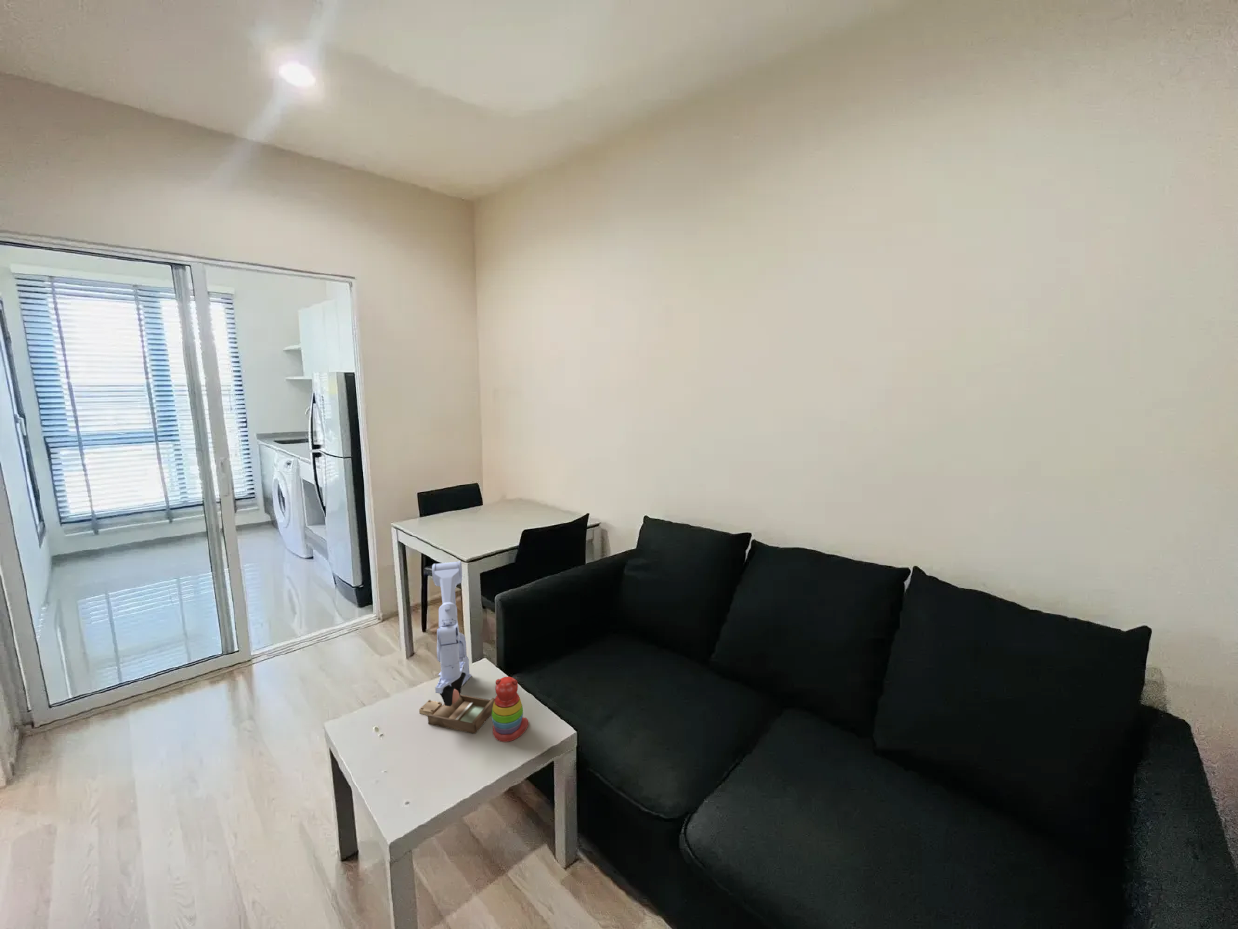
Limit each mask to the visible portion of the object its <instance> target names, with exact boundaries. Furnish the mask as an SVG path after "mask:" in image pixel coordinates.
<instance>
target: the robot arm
mask: <svg viewBox="0 0 1238 929" xmlns="http://www.w3.org/2000/svg"><path fill="white" fill-rule="evenodd" d="M431 573H432V574H431V575H432V581H433V583H434V585H435V586H436V587H440V593H441V594H440V595H441V601H442V602H441V603H442V604H441V605H440V606H439V607H438V628H437V629H436V640H437V641H436V658H437V660H436V661H437V662H439V663H440V672H439V673H438V677H439V680H438V682H437V684H436V686H435V687H434V690H435V694H438V695H440V697H441V699H442V701H443V704H445V706H451V705H452V698H453V691H454V689H456V690H457V691H458V692H459V696H460V694H461V692H462V687H463V685H464V684H465V683H466V682H468V681H469V679H470V678H471V677H472V676H473V675H472V673H470V660H469V656H468V655H467V640H466V636H465V634H463V633H462V632H460V627H459V621H458V607H457V602H456V588H457V585H459V584H462V581H463V565H462V561H461V560H458V561H450V562H442V563H439V562H438V563H433V564H432V565H431Z"/></svg>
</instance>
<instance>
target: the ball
mask: <svg viewBox="0 0 1238 929" xmlns="http://www.w3.org/2000/svg"><path fill="white" fill-rule="evenodd" d="M458 699H459V692H458V691H457V690H456V689H454V691H453V698H452V704H453V703H455V702H457V700H458Z"/></svg>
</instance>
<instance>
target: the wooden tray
mask: <svg viewBox="0 0 1238 929" xmlns="http://www.w3.org/2000/svg"><path fill="white" fill-rule="evenodd" d="M495 698H496V697H492V698H491V699H486V698H481V697H475V696H470V695H465V694H461V693H460V696H459V699H458V700H457V702H455V703H453V704H452V705H451V706H445V704H444V703H442V706H441V707H440V708H439V709H438V710H437V711H436V712H435V713H434V714H433V715H431V714H429V715H427V724H428V725H432V726H436V727H440V728H446V729H451V730H455V731H460V732H465V733H470V734H473V735H476V734H477V733H478V732H479V730H480V729H481V728H482V726H483V725H484V724H485V723H486V721H488V720H489V717H491V716H492V708H493V703H494V700H495Z"/></svg>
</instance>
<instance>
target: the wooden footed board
mask: <svg viewBox="0 0 1238 929" xmlns="http://www.w3.org/2000/svg"><path fill="white" fill-rule="evenodd" d="M442 705H443V702H441V701H436V700H435V701H434V700H431V699H428V700H427V701H426V702H425V703H424V704H423V705H422V706H421V707H420V708H419V714H421V715H425V716H428V715H429V714H431V715H433V714H434V713H435V712H436V711H437V710H438V709H439V708H440V707H441V706H442Z"/></svg>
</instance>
